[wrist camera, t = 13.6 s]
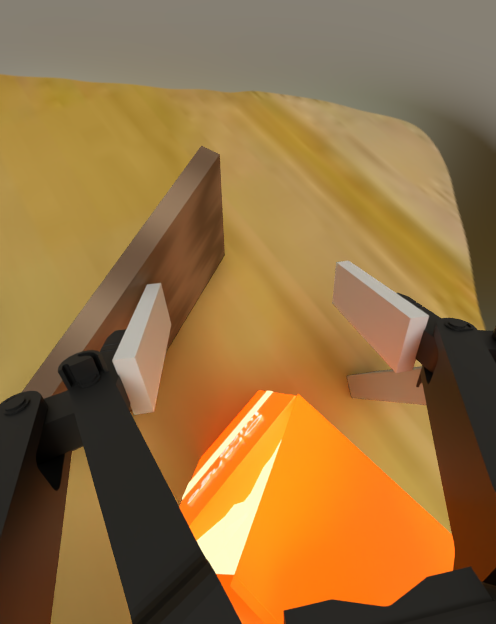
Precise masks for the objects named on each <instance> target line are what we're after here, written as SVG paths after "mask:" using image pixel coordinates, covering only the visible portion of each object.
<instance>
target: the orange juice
mask: <svg viewBox="0 0 496 624" xmlns="http://www.w3.org/2000/svg"><path fill="white" fill-rule="evenodd" d="M179 508H180V510H181V512H182V514H183V516H184V517H185V519H186V521H187V523H188V525H189V527H190V529H191V531H192V533H193V535H194V537H195V539H196V541H197V543H198V545H199V546H200V548H201V550H202V552H203V554H204V556H205V557H206V559H207V560H208V561H209V563H210V564H211V566H212V568H213V569H214V571H215V573H216V575H217V577H218V579H219V580H220V582H221V584H222V586H223V588H224V590H225V592H226V594H227V596H228V598H229V599H230V601H231V603H232V605H233V607H234V609H235V611H236V613H237V615H238V617H239V619H240V621H241V622H242V624H284V615H283V611H284V610H288V609H292V608H297V607H301V606H305V605H309V604H313V603H318V602H322V601H326V600H330V599H334V600H341V601H348V602H355V603H362V604H370V605H377V606H389V605H391V604H393V603H394V602H395V601H397V600H398V599H399V598H401V597H402V596H403V595H404V594H406V593H407V592H408V591H410V590H411V589H412V588H413V587H415V586H416V585H417V584H418V583H420V582H421V581H422V580H424V579H425V578H426V577H428V576H432V575H436V574H441V573H445V572H449V571H453V565H454V557H455V548H454V541H453V536H452V534H451V533H449V532H448V531H447V530H446V529H445V528H444V527H443V526H442V525H441V524H440V523H439V522H437V521H436V520H435V519H434V518H433V517H432V516H431V515H430V514H429V513H428V512H427V511H425V510H424V509H423V508H422V507H421V506H420V505H419V504H418V503H417V502H416V501H415V500H413V499H412V498H411V497H410V496H409V495H408V494H407V493H406V492H405V491H404V490H403V489H401V488H400V487H399V486H398V485H397V484H396V483H395V482H394V481H393V480H392V479H391V478H389V477H388V476H387V475H386V474H385V473H384V472H383V471H382V470H381V469H380V468H379V467H377V466H376V465H375V464H374V463H373V462H372V461H371V460H370V459H369V458H368V457H367V456H365V455H364V454H363V453H362V452H361V451H360V450H359V449H358V448H357V447H356V446H355V445H354V444H352V443H351V442H350V441H349V440H348V439H347V438H346V437H345V436H344V435H343V434H342V433H340V432H339V431H338V430H337V429H336V428H335V427H334V426H333V425H332V424H331V423H330V422H328V421H327V420H326V419H325V418H324V417H323V416H322V415H321V414H320V413H319V412H318V411H316V410H315V409H314V408H313V407H312V406H311V405H310V404H309V403H308V402H307V401H306V400H304V399H303V398H302V397H301V396H300V395H299V394H298V395H297V397H296V396H295V395H289V394H282V393H275V392H273V391H261V390H259V391H258V392H257V393H256V394H255V395H254V396H253V398H252V399H251V400H250V401H249V402H248V403H247V405H246V406H245V407H244V408H243V409H242V410H241V412H240V413H239V414H238V415H237V416H236V417H235V419H234V420H233V421H232V422H231V423H230V424H229V426H228V427H227V428H226V429H225V430H224V431H223V433H222V434H221V435H220V436H219V437H218V438H217V440H216V441H215V442H214V443H213V444H212V445H211V447H210V448H209V449H208V450H207V451H206V452H205V453H204V455H203V456H202V457H201V458H200V460H199V462H198V465H197V467H196V469H195V472H194V474H193V476H192V479H191V481H190V482H189V484H188V486H187V488H186V491H185V493H184V495H183V497H182V502H181V504H180V507H179Z"/></svg>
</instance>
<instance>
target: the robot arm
mask: <svg viewBox="0 0 496 624" xmlns="http://www.w3.org/2000/svg"><path fill="white" fill-rule="evenodd" d="M332 303H333V305H334V306H335V307H336V308H337V309H338V310H339V311H340V312H341V313H342V314H343V316H344V317H345V318H346V319H347V320H348V321H349V322H350V323H351V324H352V325H353V326H354V328H355V329H356V330H357V331H358V332H359V333H360V334H361V335H362V336H363V337H364V339H365V340H366V341H367V342H368V343H369V344H370V345H371V346H372V347H373V348H374V350H375V351H376V352H377V353H378V354H379V355H380V356H381V357H382V358H383V359H384V361H385V362H386V363H387V364H388V365H389V366H390V367H391V368H392V369H393V370H394V372H395V373H400V372H406V371H412V370H413V367H414V364H415V361H416V359H417V360H418V361H419V362H420V363H421V364H422V368H421V371H420V374H419V377H418V380H417V384H416V387H419V386H420V384H421V383H422V384H423V389H424V395H425V400H426V405H427V410H428V415H429V420H430V425H431V430H432V435H433V440H434V445H435V450H436V455H437V460H438V465H439V470H440V475H441V480H442V486H443V491H444V496H445V501H446V506H447V511H448V516H449V521H450V526H451V531H452V536H453V541H454V548H455V557H454V565H453V571H449V572H445V573H441V574H436V575H432V576H428V577H426V578H425V579H424V580H422V581H421V582H420V583H418V584H417V585H416V586H415V587H413V588H412V589H411V590H410V591H408V592H407V593H406V594H404V595H403V596H402V597H401V598H399V599H398V600H397V601H395V602H394V603H393V604H391V605H389V606H377V605H370V604H362V603H355V602H348V601H341V600H334V599H330V600H326V601H322V602H318V603H313V604H309V605H305V606H301V607H297V608H292V609H288V610H284V611H283V615H284V624H496V327H495V329H494V331H484V330H477V329H476V328H475V327H474V326H473V325H472V324H470V323H468V322H466V321H463V320H460V319H454V318H442V319H441V318H440V317H438V316H437V315H435V314H434V313H432V312H431V311H429V310H428V309H426V308H425V307H422V305H420V304H419V303H416V301H414V300H413V299H411V298H410V297H408V296H405V295H402V294H400V293H395V292H394V291H392V290H391V289H389V288H388V287H386V286H385V285H383V284H382V283H381V282H379V281H378V280H376V279H375V278H373V277H372V276H370V275H369V274H367V273H366V272H364V271H363V270H361V269H360V268H359V267H357V266H356V265H354V264H353V263H351V262H350V261H342V262H336V271H335V281H334V291H333V302H332ZM170 329H171V321H170V317H169V313H168V309H167V305H166V301H165V297H164V293H163V289H162V285H161V283H156V284H147V286H146V288H145V290H144V292H143V294H142V296H141V299H140V301H139V303H138V305H137V307H136V310H135V312H134V314H133V316H132V318H131V320H130V323H129V325H128V327H127V329H124V330H117V331H114V332H113V333H112V334H111V335H110V336H108V337H107V339H106V340H105V342H104V344H103V346H102V348H101V350H100V352H99V351H96V350H85V351H82V352H78V353H76V354H74V355H72V356H70V357H68V358H67V359H65V360H64V361H63V362H62V363H61V364H60V365H59V367H58V373H59V375H60V377H61V379H62V380H63V382H64V384H65V386H66V388H67V389H68V390H66V391H64V392H62V393H59V394H56V395H53V396H50V397H47V398H44V399H43V397H42V395H41V394H40V393H39V392H37V391H26V392H22V393H19V394H17V395H14V396H12V397H10V398H8V399H6V400H5V401H3V402H2V403H1V404H0V624H50V622H51V614H52V606H53V598H54V590H55V582H56V574H57V566H58V558H59V550H60V542H61V534H62V527H63V519H64V511H65V503H66V495H67V487H68V479H69V471H70V463H71V455H72V450H74V449H76V448H78V447H81V446H84V450H85V453H86V457H87V461H88V464H89V468H90V471H91V475H92V478H93V482H94V486H95V489H96V493H97V496H98V500H99V504H100V507H101V511H102V514H103V518H104V521H105V525H106V529H107V532H108V536H109V539H110V543H111V547H112V550H113V554H114V557H115V561H116V564H117V568H118V572H119V575H120V579H121V582H122V586H123V590H124V593H125V597H126V600H127V604H128V607H129V611H130V615H131V619H132V624H242V622H241V621H240V619H239V617H238V615H237V613H236V611H235V609H234V607H233V605H232V603H231V601H230V599H229V598H228V596H227V594H226V592H225V590H224V588H223V586H222V584H221V582H220V580H219V579H218V577H217V575H216V573H215V571H214V569H213V568H212V566H211V564H210V563H209V561H208V560H207V559H206V557H205V556H204V554H203V552H202V550H201V548H200V546H199V545H198V543H197V541H196V539H195V537H194V535H193V533H192V531H191V529H190V527H189V525H188V523H187V521H186V519H185V517H184V516H183V514H182V512H181V510H180V508H179V506H178V504H177V502H176V500H175V498H174V496H173V494H172V492H171V490H170V488H169V487H168V485H167V483H166V481H165V479H164V477H163V475H162V473H161V471H160V469H159V467H158V465H157V463H156V461H155V459H154V458H153V456H152V454H151V452H150V450H149V448H148V446H147V444H146V442H145V440H144V438H143V436H142V434H141V432H140V430H139V429H138V427H137V425H136V423H135V421H134V419H133V417H132V415H131V413H130V411H129V408H130V406H131V408H132V411H133V413H134V415H138V414H144V413H150V412H154V410H155V405H156V399H157V394H158V389H159V384H160V379H161V374H162V369H163V364H164V359H165V354H166V349H167V344H168V339H169V334H170Z"/></svg>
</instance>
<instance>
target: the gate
mask: <svg viewBox="0 0 496 624" xmlns="http://www.w3.org/2000/svg"><path fill="white" fill-rule="evenodd" d="M224 255H225V253H224V233H223V213H222V193H221V174H220V154H218V153H216V152H213V151H211V150H209V149H207V148H205V147H203V146H201V147H200V148H199V150H198V151H197V153H196V154H195V155H194V157H193V158H192V159H191V161H190V162H189V164H188V165H187V166H186V168H185V169H184V170H183V172H182V173H181V174H180V176H179V177H178V179H177V180H176V181H175V183H174V184H173V185H172V187H171V188H170V190H169V191H168V192H167V194H166V195H165V196H164V198H163V199H162V201H161V202H160V203H159V205H158V206H157V207H156V209H155V210H154V212H153V213H152V214H151V216H150V217H149V218H148V220H147V221H146V222H145V224H144V225H143V227H142V228H141V229H140V231H139V232H138V233H137V235H136V236H135V238H134V239H133V240H132V242H131V243H130V244H129V246H128V247H127V249H126V250H125V251H124V253H123V254H122V255H121V257H120V258H119V259H118V261H117V262H116V264H115V265H114V266H113V268H112V269H111V270H110V272H109V273H108V275H107V276H106V277H105V279H104V280H103V281H102V283H101V284H100V286H99V287H98V288H97V290H96V291H95V292H94V294H93V295H92V297H91V298H90V299H89V301H88V302H87V303H86V305H85V306H84V307H83V309H82V310H81V312H80V313H79V314H78V316H77V317H76V318H75V320H74V321H73V323H72V324H71V325H70V327H69V328H68V329H67V331H66V332H65V334H64V335H63V336H62V338H61V339H60V340H59V342H58V343H57V345H56V346H55V347H54V349H53V350H52V351H51V353H50V354H49V355H48V357H47V358H46V360H45V361H44V362H43V364H42V365H41V366H40V368H39V369H38V371H37V372H36V373H35V375H34V376H33V377H32V379H31V380H30V382H29V383H28V384H27V386H26V387H25V388H24V390H23V391H22V392H26V391H37V392H39V393H40V394H41V395H42V397H43V399H44V398H47V397H50V396H53V395H56V394H59V393H62V392H64V391H66V390H68V389H67V388H66V386H65V384H64V382H63V380H62V379H61V377H60V375H59V373H58V367H59V365H60V364H61V363H62V362H63V361H64V360H65V359H67V358H68V357H70V356H72V355H74V354H76V353H78V352H82V351H85V350H96V351H99V352H100V350H101V348H102V346H103V344H104V342H105V340H106V339H107V337H108V336H110V335H111V334H112V333H113V332H114V331H117V330H124V329H127V327H128V325H129V323H130V320H131V318H132V316H133V314H134V312H135V310H136V307H137V305H138V303H139V301H140V299H141V296H142V294H143V292H144V290H145V288H146V286H147V284H156V283H161V285H162V289H163V293H164V297H165V301H166V305H167V309H168V313H169V317H170V321H171V329H170V334H169V339H168V344H167V349H168V348H169V346H170V344H171V343H172V341H173V339H174V338H175V336H176V334H177V333H178V331H179V329H180V328H181V326H182V324H183V323H184V321H185V319H186V318H187V316H188V315H189V313H190V311H191V310H192V308H193V306H194V305H195V303H196V301H197V300H198V298H199V296H200V295H201V293H202V291H203V290H204V288H205V286H206V285H207V283H208V281H209V280H210V278H211V276H212V275H213V273H214V271H215V270H216V268H217V266H218V265H219V263H220V262H221V260H222V258H223V257H224ZM167 349H166V351H167ZM131 409H132V408H131V406H130V408H129V411H131ZM81 447H83V446H81ZM81 447H78V448H81ZM78 448H76V449H78ZM76 449H74V450H76ZM72 451H73V450H72Z"/></svg>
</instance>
